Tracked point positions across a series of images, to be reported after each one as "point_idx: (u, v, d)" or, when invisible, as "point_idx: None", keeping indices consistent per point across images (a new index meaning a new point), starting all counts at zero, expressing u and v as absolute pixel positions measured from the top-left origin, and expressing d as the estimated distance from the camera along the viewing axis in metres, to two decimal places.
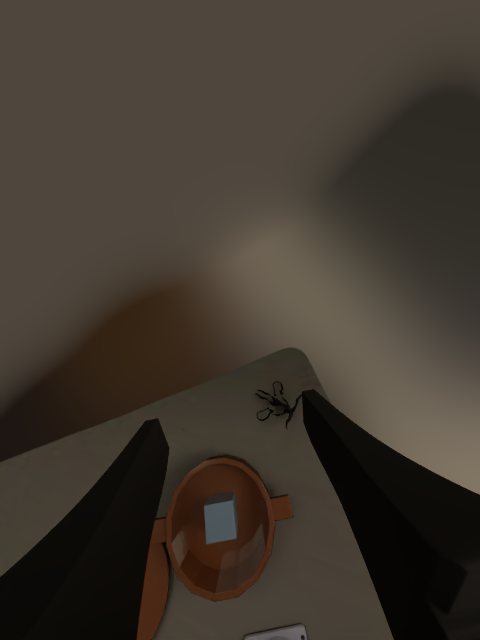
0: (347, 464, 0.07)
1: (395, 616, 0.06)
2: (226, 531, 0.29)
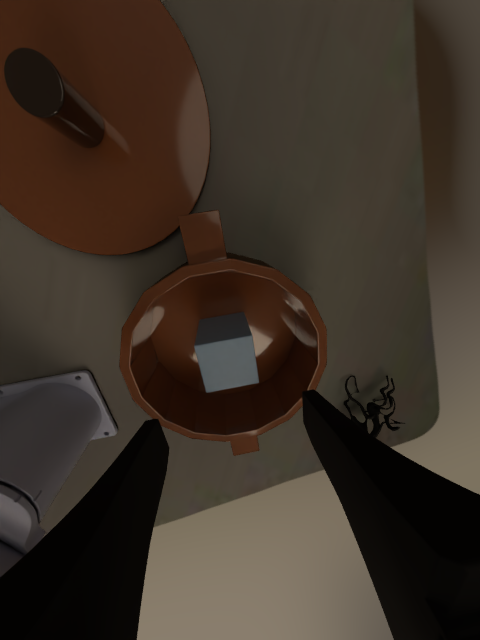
0: (347, 464, 0.07)
1: (395, 616, 0.06)
2: (214, 377, 0.16)
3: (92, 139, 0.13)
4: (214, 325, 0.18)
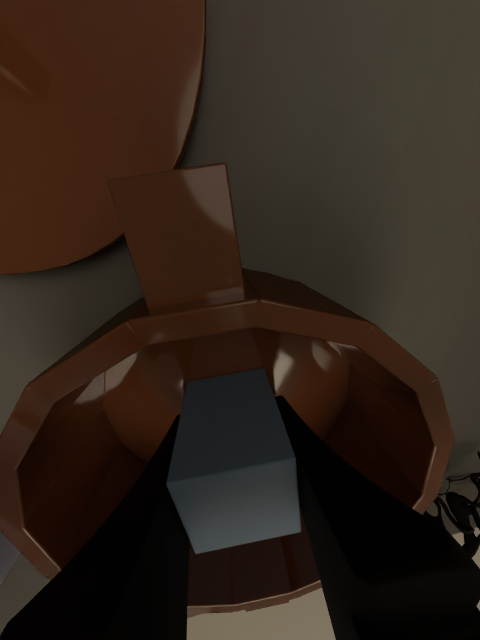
0: (300, 473, 0.07)
1: (337, 629, 0.06)
2: (212, 531, 0.08)
3: None
4: (211, 404, 0.09)
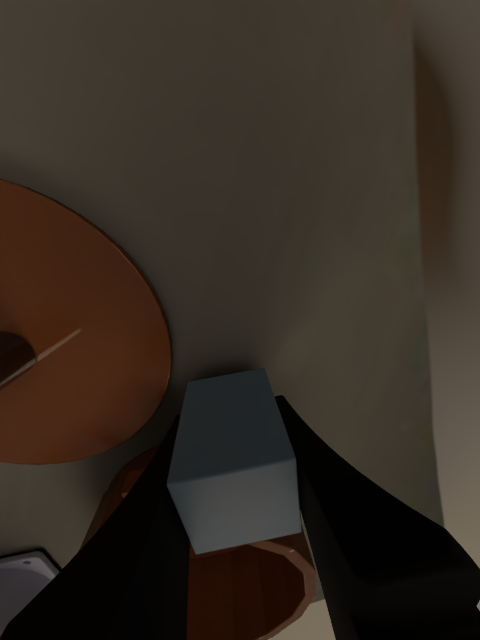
0: (300, 473, 0.07)
1: (337, 629, 0.06)
2: (212, 532, 0.08)
3: (16, 379, 0.10)
4: (212, 404, 0.09)
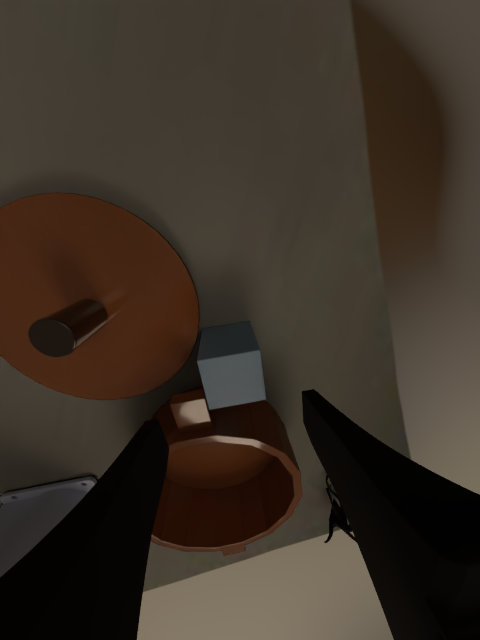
0: (347, 464, 0.07)
1: (395, 616, 0.06)
2: (218, 394, 0.15)
3: (97, 331, 0.15)
4: (217, 336, 0.16)
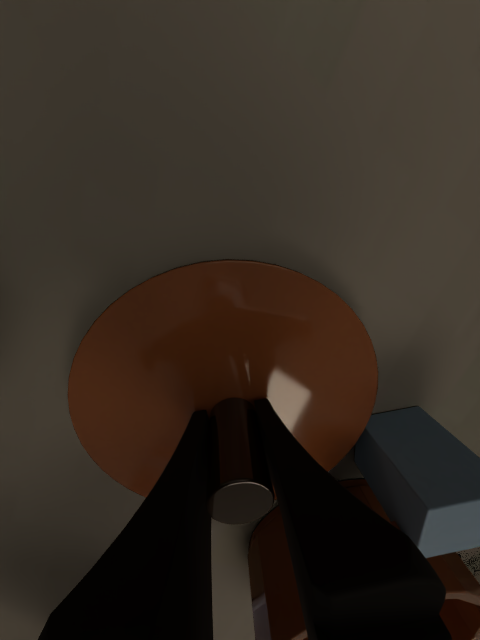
0: (277, 478, 0.07)
1: (309, 636, 0.06)
2: (436, 543, 0.10)
3: None
4: (403, 441, 0.12)
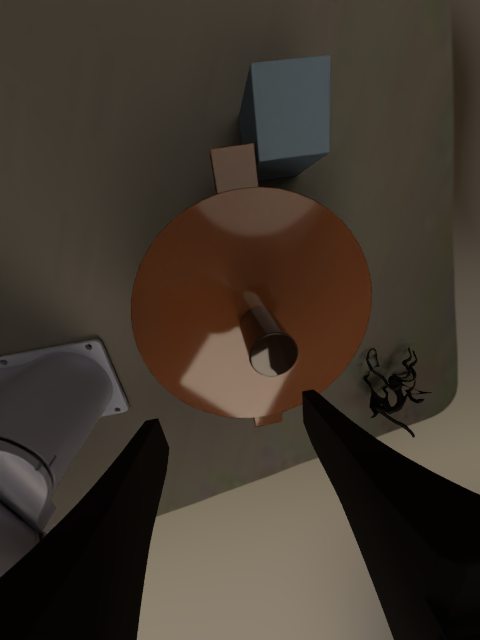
0: (347, 464, 0.07)
1: (395, 616, 0.06)
2: (272, 132, 0.12)
3: None
4: None
